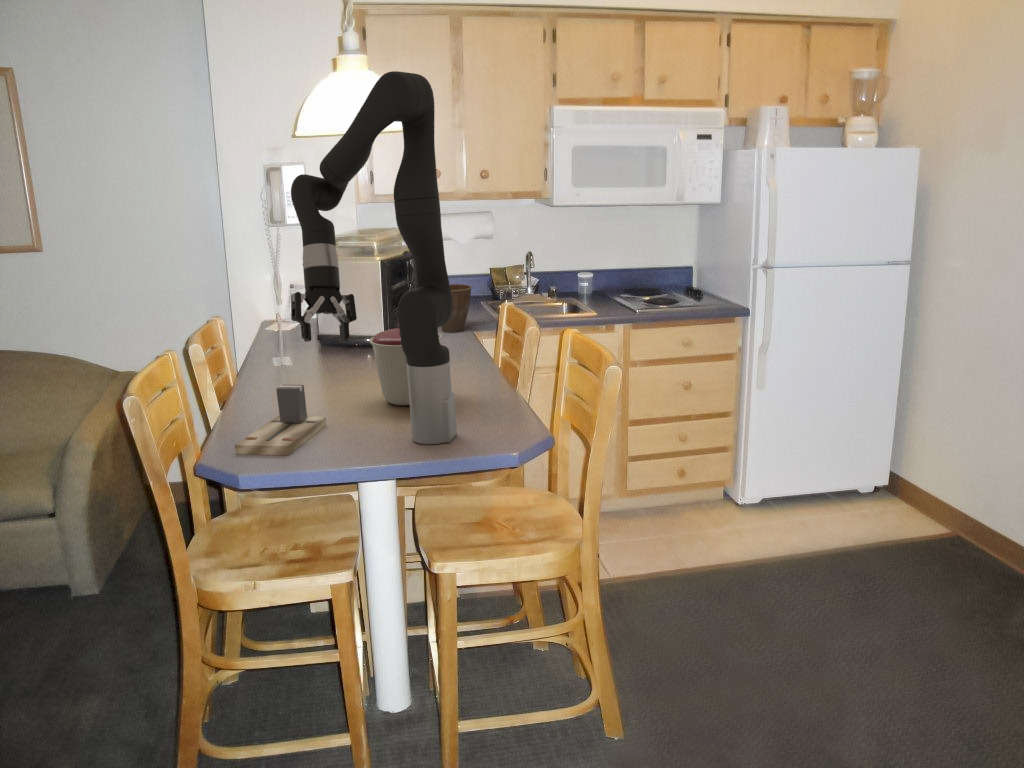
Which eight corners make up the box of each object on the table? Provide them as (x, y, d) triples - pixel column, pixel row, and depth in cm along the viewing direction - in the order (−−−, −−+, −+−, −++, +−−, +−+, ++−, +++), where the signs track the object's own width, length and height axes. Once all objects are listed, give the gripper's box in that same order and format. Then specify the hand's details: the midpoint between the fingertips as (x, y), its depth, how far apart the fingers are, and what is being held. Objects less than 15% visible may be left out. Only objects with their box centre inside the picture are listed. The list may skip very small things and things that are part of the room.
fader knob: (307, 418, 180) (304, 384, 178) (301, 422, 177) (297, 388, 175) (286, 417, 181) (282, 384, 179) (280, 422, 178) (275, 388, 176)
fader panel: (326, 425, 183) (325, 416, 182) (288, 455, 164) (287, 445, 163) (279, 423, 185) (277, 415, 184) (235, 453, 166) (234, 444, 165)
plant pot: (480, 331, 282) (478, 287, 278) (443, 336, 275) (440, 291, 271) (462, 325, 294) (459, 283, 290) (426, 330, 287) (423, 287, 283)
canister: (459, 396, 202) (455, 316, 197) (413, 414, 188) (407, 329, 182) (407, 387, 212) (401, 311, 206) (360, 404, 198) (352, 323, 192)
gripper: (297, 262, 163) (302, 339, 162) (358, 265, 172) (363, 339, 171) (282, 269, 168) (288, 343, 168) (342, 272, 177) (348, 343, 177)
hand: (326, 341), depth 169 cm, fingers open, 8 cm apart
